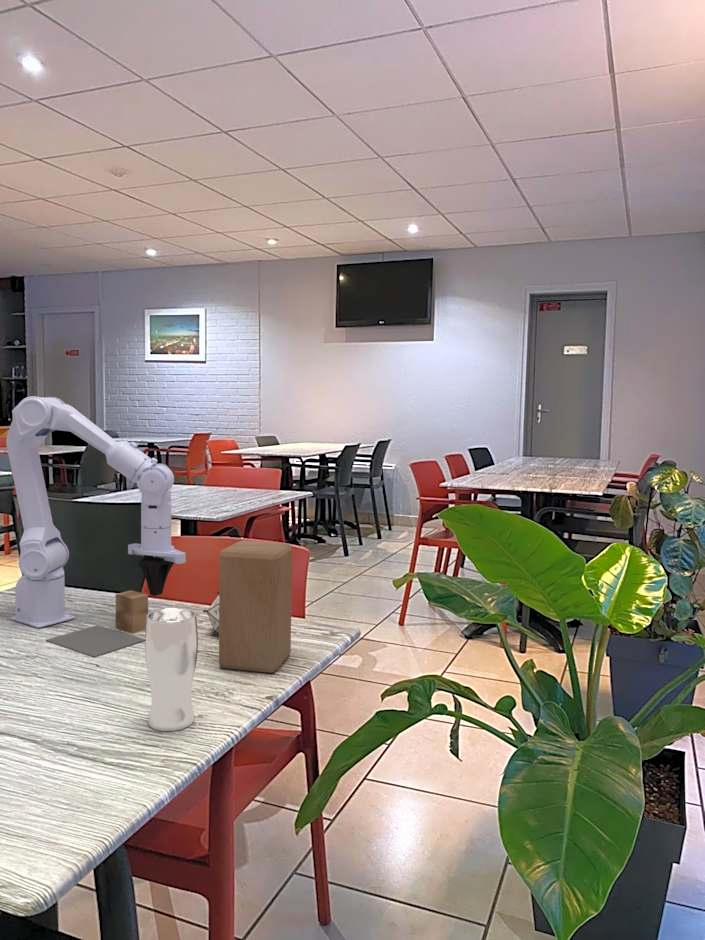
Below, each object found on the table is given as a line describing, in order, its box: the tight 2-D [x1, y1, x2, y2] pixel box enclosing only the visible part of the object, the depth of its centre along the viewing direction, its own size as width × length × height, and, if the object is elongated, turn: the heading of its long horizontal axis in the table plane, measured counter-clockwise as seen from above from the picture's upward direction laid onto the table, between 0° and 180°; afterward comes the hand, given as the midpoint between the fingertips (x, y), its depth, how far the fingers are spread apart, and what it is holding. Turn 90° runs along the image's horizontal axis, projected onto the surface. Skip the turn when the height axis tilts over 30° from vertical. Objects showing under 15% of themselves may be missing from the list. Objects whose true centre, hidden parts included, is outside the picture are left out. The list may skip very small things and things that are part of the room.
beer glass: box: [144, 607, 199, 732], centre depth 95 cm, size 7×7×15 cm
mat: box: [45, 624, 145, 658], centre depth 128 cm, size 14×11×1 cm
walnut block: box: [115, 589, 149, 636], centre depth 134 cm, size 5×4×7 cm
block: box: [218, 539, 293, 674], centre depth 118 cm, size 10×10×20 cm
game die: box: [202, 589, 219, 636], centre depth 133 cm, size 9×8×10 cm
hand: (156, 594), depth 139 cm, fingers closed
